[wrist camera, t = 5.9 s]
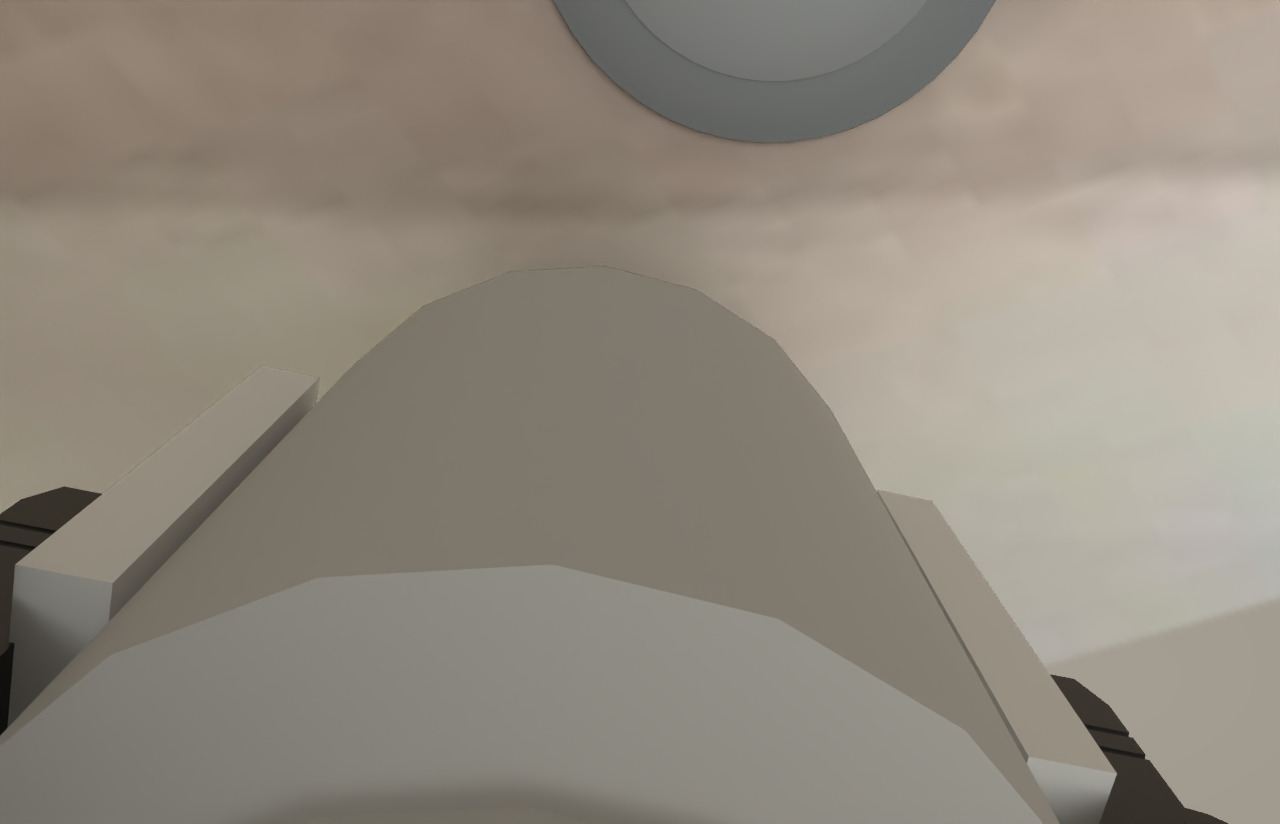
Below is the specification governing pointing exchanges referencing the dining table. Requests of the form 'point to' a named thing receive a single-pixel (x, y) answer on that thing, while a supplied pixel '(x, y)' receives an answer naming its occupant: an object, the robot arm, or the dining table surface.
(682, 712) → the can
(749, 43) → the saucer
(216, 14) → the dining table surface
